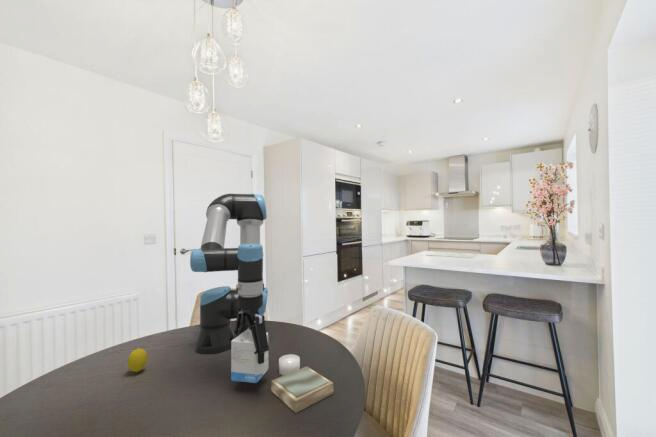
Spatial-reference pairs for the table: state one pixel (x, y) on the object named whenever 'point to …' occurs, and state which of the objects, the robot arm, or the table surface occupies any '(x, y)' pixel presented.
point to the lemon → (137, 360)
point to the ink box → (245, 358)
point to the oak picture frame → (301, 388)
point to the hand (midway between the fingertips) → (250, 365)
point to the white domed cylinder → (289, 364)
